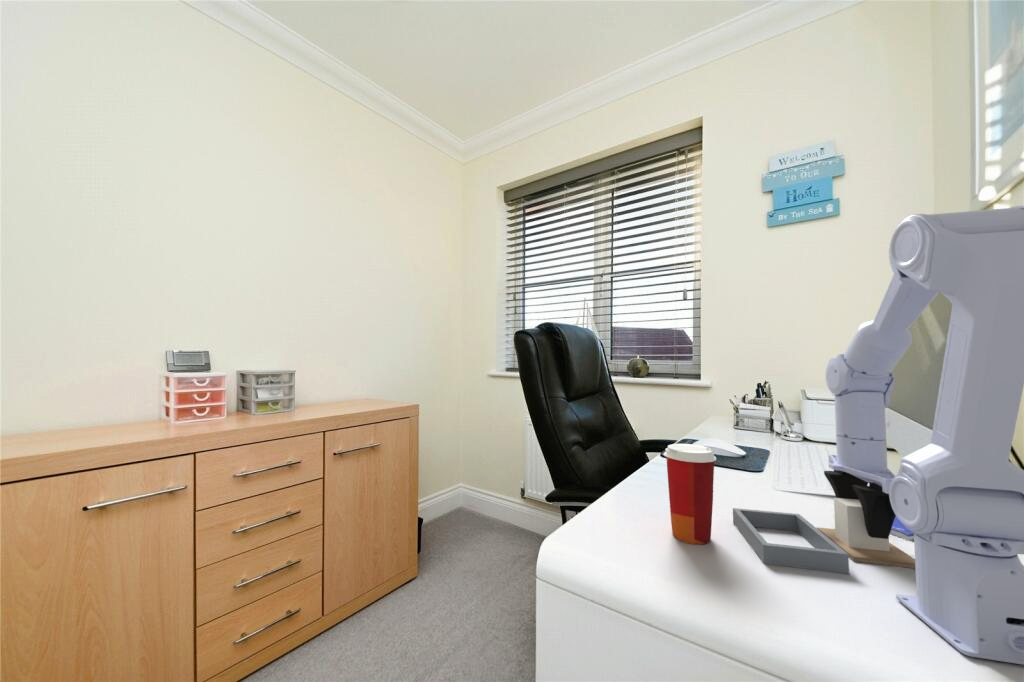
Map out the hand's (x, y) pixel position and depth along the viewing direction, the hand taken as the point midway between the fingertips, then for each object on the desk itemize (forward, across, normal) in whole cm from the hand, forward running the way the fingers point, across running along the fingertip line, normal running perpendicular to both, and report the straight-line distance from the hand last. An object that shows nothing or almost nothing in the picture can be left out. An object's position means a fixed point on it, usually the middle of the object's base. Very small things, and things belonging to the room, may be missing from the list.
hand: (864, 527), depth 58 cm
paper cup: (+3, +3, -25) cm, 25 cm away
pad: (+3, 0, 0) cm, 3 cm away
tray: (+3, +2, -12) cm, 12 cm away
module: (+2, 0, 0) cm, 2 cm away
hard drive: (+4, -12, +11) cm, 17 cm away
